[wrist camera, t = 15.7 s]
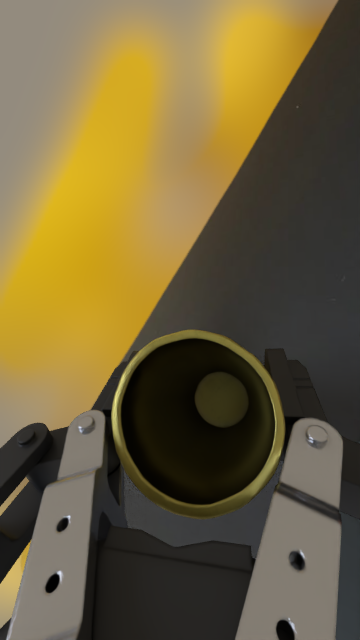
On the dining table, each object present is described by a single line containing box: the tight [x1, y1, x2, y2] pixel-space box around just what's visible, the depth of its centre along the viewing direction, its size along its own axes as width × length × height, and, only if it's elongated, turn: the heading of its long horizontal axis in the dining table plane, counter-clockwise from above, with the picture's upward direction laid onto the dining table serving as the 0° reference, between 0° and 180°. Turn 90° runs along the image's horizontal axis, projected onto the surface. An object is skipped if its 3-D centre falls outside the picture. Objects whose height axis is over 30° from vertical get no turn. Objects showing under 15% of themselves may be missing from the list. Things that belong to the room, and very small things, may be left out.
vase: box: [111, 330, 285, 519], centre depth 14 cm, size 6×6×14 cm
